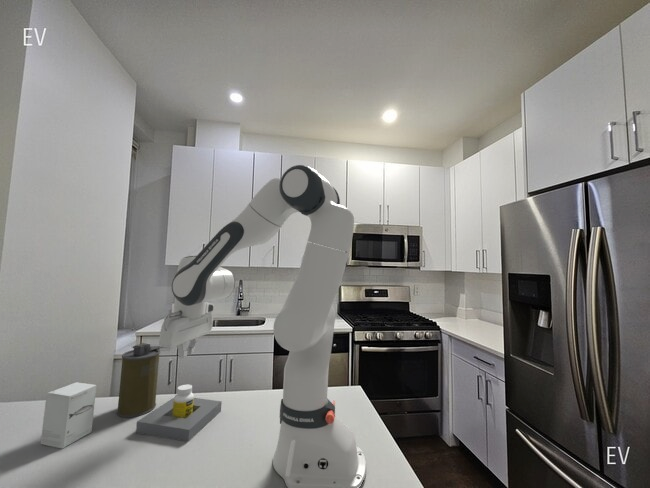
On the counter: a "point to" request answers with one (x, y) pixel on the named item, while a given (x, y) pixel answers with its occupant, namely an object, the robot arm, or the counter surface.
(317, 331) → the robot arm
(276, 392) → the counter surface
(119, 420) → the counter surface
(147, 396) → the canister
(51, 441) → the supplement box
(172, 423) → the socket block
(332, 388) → the counter surface
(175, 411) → the supplement bottle
